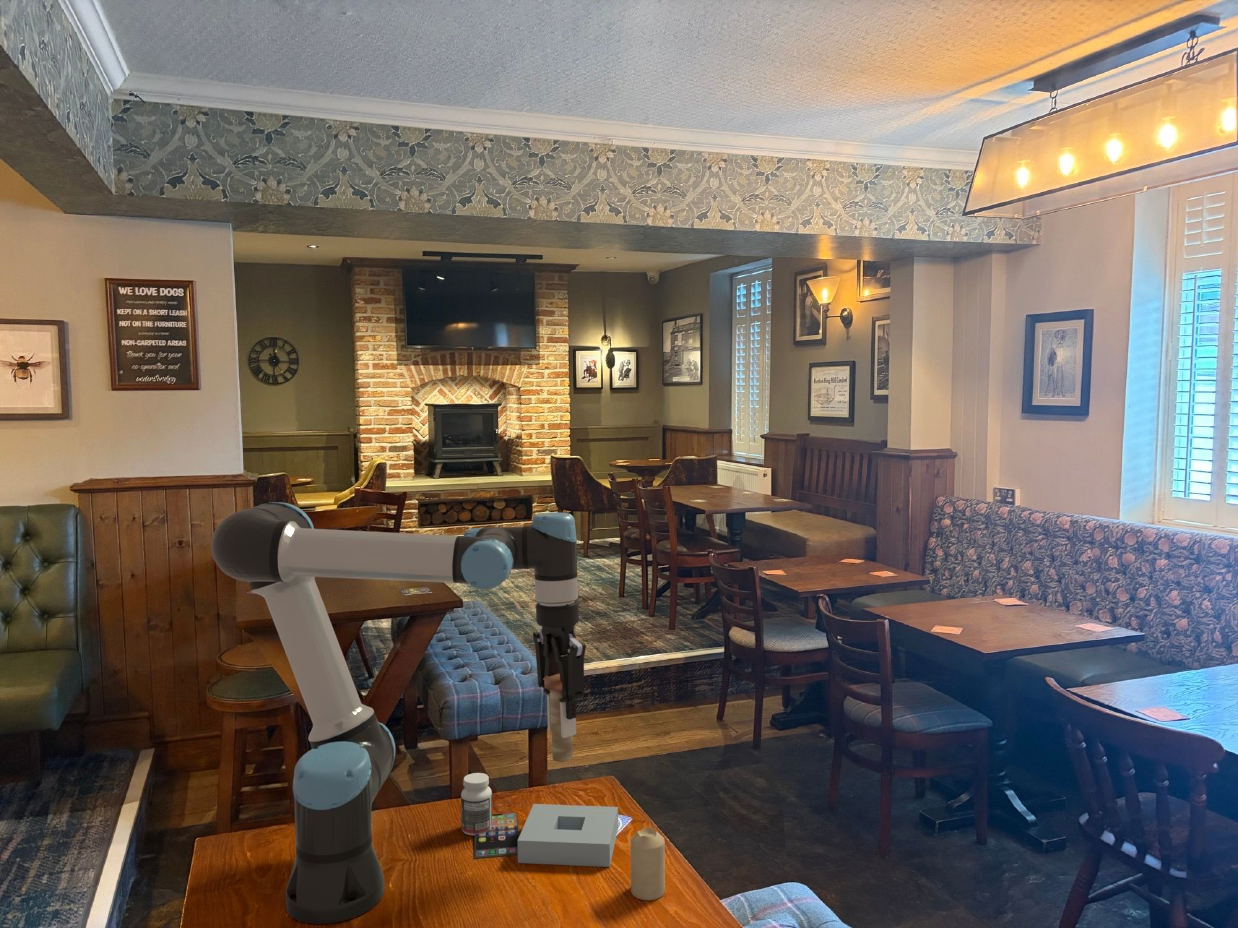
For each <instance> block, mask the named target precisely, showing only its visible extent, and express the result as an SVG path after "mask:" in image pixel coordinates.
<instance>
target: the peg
mask: <svg viewBox="0 0 1238 928" xmlns="http://www.w3.org/2000/svg"><path fill="white" fill-rule="evenodd" d="M543 680H544V682H545V688H546V689H548V690H550V704H551V730H552V731H551V753H552V755H551V756H552V760H553V761H555V762H558V763H565V762H569V761H571V760H572V759H573V758H574V753H573V751H574V750H573V749H574V748H573V746H574V745H573V735H572V736H569V737H566V738H562V737H561V717H560V700H559V699H561V698H563V696H562V682H561V681H560V674H555V675H551V676H545V678H543Z"/></svg>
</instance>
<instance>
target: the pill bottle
mask: <svg viewBox="0 0 1238 928" xmlns="http://www.w3.org/2000/svg"><path fill="white" fill-rule="evenodd" d="M489 777H490V776H488V774H486V773H482V772H473V773H469V774H466V775H465V776H464V777H463V782H462V783H463V787H464V788H463V789H462V790H461V793H460V804H461V806H460V807H461V808H460V811H461V812H460V813H461V815H460V816H461V817H460V818H461V823H460V824H461V831H462V832H463V833H464V834H465V835H467V836H473V837H475V835H476V834H481V833H485V832H487V831H489V830H490V829H491V828H492V814H493V792H492V789H491V787H490V786H489V783H490V779H489Z"/></svg>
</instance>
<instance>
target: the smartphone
mask: <svg viewBox="0 0 1238 928" xmlns="http://www.w3.org/2000/svg"><path fill="white" fill-rule="evenodd" d="M518 818H519V817H518V812H509V813H506V812H505V813H492V828H491V829H490V830H489V831H487V832H485V833H481V834H476V835H475V836H474V860H478V859H489V858H491V859H492V858H500V857H513V856H518V838H519V836H520V832H519V831H520V830H519V829H520V828H519V821H518V820H519V819H518Z"/></svg>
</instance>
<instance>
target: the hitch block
mask: <svg viewBox="0 0 1238 928" xmlns="http://www.w3.org/2000/svg"><path fill="white" fill-rule="evenodd" d="M618 829H619V807H618V806H601V805H599V806H597V805H595V806H594V805H576V804H575V805H573V804H570V805H569V804H549V803H548V804H546V803H542V804H541V803H533V804H532V807H531V809H530V811H529V814H528V816H527V818H526V821H525V823H524V825H523V827H522V829H521V832H520V833H519V838H518V855H517V864H535V865H537V864H538V865H555V866H556V865H557V866H558V865H559V866H560V865H561V866H577V867H579V866H580V867H581V866H582V867H599V868H601V867H604V868H605V867H606V868H610V867H611V863H612V859H613V858H612V857H613V854H614V849H615V844H616V839H617V835H618Z"/></svg>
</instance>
